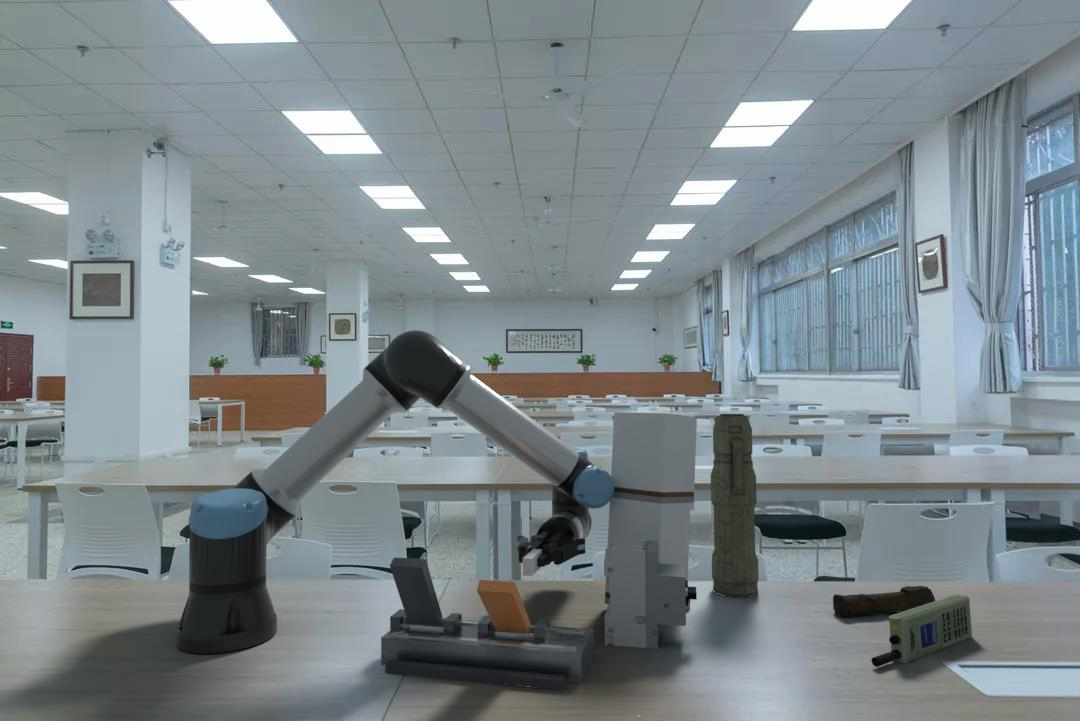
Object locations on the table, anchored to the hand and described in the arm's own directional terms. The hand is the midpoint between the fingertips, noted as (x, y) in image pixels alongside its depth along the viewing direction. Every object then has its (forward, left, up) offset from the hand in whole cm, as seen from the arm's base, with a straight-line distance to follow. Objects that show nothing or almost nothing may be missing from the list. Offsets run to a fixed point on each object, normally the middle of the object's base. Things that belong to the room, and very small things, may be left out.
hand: (527, 567), depth 110 cm
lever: (0, -7, -7) cm, 10 cm away
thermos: (+33, +37, -12) cm, 51 cm away
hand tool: (+58, +29, -13) cm, 66 cm away
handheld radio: (+59, +11, -13) cm, 62 cm away
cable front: (-4, -14, -12) cm, 19 cm away
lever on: (-14, -7, -7) cm, 17 cm away
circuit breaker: (+19, +7, -12) cm, 24 cm away
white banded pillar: (+17, +22, -12) cm, 30 cm away
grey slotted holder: (-4, -7, -12) cm, 15 cm away
